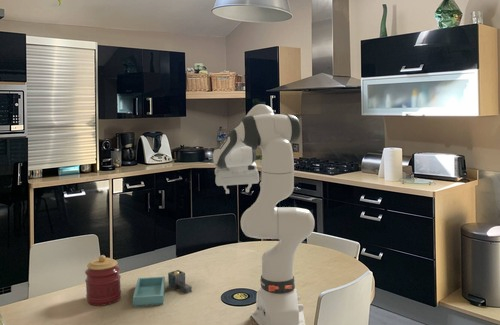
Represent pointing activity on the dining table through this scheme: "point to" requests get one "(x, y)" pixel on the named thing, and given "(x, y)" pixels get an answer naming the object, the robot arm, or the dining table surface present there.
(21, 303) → the dining table surface
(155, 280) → the tray
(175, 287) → the link
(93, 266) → the canister
